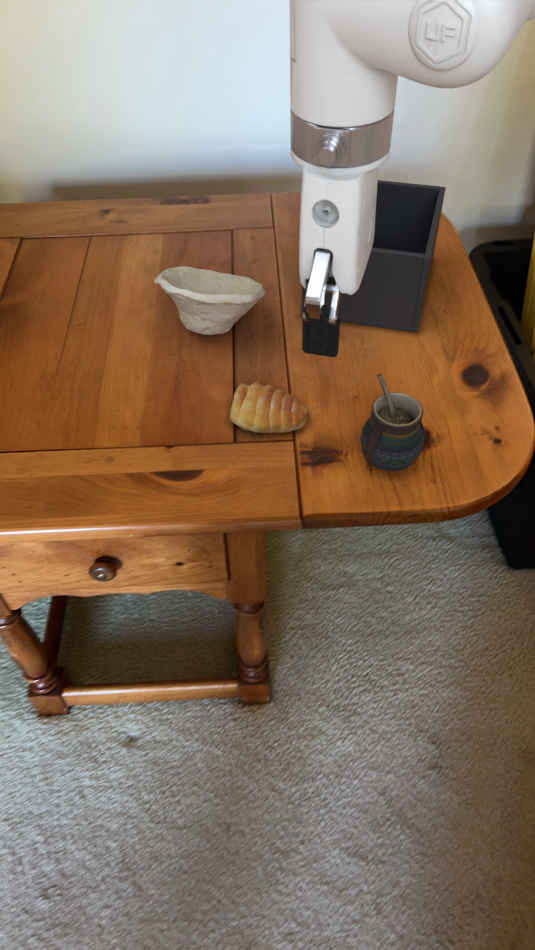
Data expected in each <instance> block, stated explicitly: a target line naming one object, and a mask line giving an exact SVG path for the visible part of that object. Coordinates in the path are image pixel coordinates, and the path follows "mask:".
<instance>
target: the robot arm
mask: <svg viewBox="0 0 535 950" xmlns="http://www.w3.org/2000/svg"><path fill="white" fill-rule="evenodd" d="M533 19H535V0H289V104H290V107H289V111H290V112H289V113H290V115H289V116H290V117H289V119H290V123H289V125H290V131H289V132H290V157H291V159H292V161H293V163H295V164H296V165H298V166H299V167H300V168H302V175H301V191H300V195H299V196H300V210H299V237H298V238H299V241H298V269H299V270H298V271H299V272H298V273H299V281H300V282H299V283H300V285H301V287H302V286H303V287H304V288H305V289H307V291H306V297H305V304H304V310H303V316H302V328H301V329H302V331H301V332H302V333H301V335H302V337H301V341H302V342H301V350H302V352H303V353H304V354H308V355H314V356H315V355H316V356H321V357H328V358H337V356H338V354H339V350H340V349H339V348H340V335H341V334H340V331H341V322H340V318H339V317H337V313H338V307H339V301H340V295H341V293H345V294H348V295H352V294H355V293H357V291H358V289H359V286H360V284H361V281H362V278H363V275H364V272H365V269H366V265H367V262H368V259H369V256H370V252H371V249H372V245H373V241H374V232H375V215H376V198H377V183H378V180H379V167H381V166H382V165H383V164H385V163H386V162H387V161H388V159H389V157H390V154H391V152H390V151H391V145H392V135H393V127H394V126H393V125H394V119H395V118H394V117H395V107H396V101H397V100H396V99H397V90H398V79H399V77H401V78H404V79H406V80H408V81H412V82H414V83H417V84H419V85H420V84H421V85H424V86H428V87H432V88H437V89H459V88H464V87H466V86H469V85H472V84H474V83H476V82H478V81H480V80H482V79H483V78H484V77H486V76H487V75H489V74H490V73H491V72H493V70H494V69H495V68H496V67H497V66H498V65H499V64H500V62H501V61H503V59H504V57H505V56H506V54H507V53H508V51H510V48H511V47H512V45H513V43H514V41H515V40H516V38H518V37H517V36H518V35H519V33H520V32H521V30H522V28H523V26H524V25H525V23H527V22H529V21H531V20H533ZM325 292H329V293H333V295H332V301H331V307H330V308H329V307H328V306H327V305H324V294H325Z"/></svg>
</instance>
